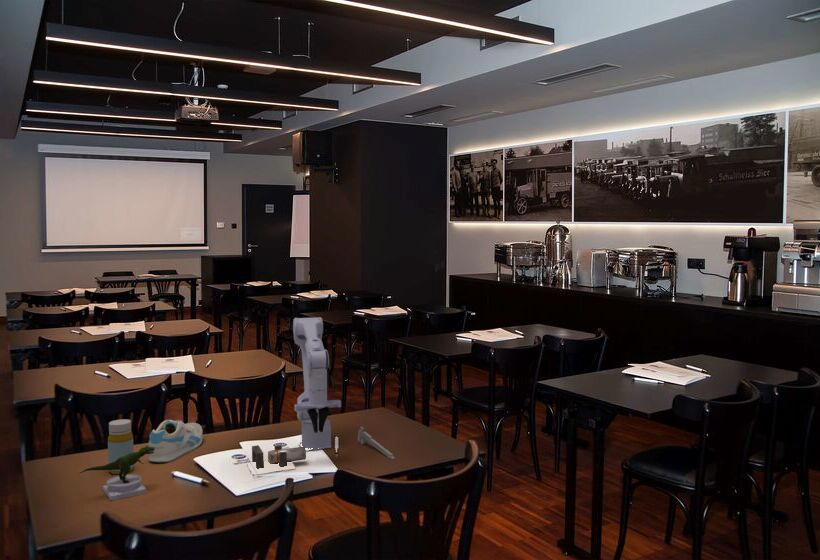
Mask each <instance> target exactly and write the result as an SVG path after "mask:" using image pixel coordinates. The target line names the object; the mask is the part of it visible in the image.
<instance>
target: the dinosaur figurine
mask: <svg viewBox="0 0 820 560" xmlns="http://www.w3.org/2000/svg"><path fill="white" fill-rule="evenodd" d="M154 450H155V449H154V447H149V445H145V446H143V447H140V449H138V451H135V452H133V453H129V454H127V455H126V456H123V457H120V458H118V459H117V460H116V461H114V462H112V463H109V462H108V463H107V464H105V465H98V466H93V467H88V468H86V469H85V468H84V470H81V471H80V472H79V474H82V473H85V472H87V471H89V472H90V471H109V470H120V473H119V474H118V475H116V476H113V477H111V478H109V479H107V481H106V485H103V486H102V489H103V492H104V493H105V495H106V496H107V498H108V497H109V498H108V500H113V501H116V499H117V500H120V499H121V498H122V499H126V498H131V497H134V496H139V495H144V494H147V488H146V487H145V486H144V485H143V483H142V479H143V478H142V476H141V475H138V474H134V473H133V474H129V473H130V472H129V471H130V466H131V465H134V466H135V465H136V463H137V462H139V463H140V464H145V463H143V462H142V461H141V460H140V459H141V458H142V457H144V456H145V455H150V454H152V453H154ZM123 472H124V473H123ZM122 473H123V474H122ZM122 499H121V500H122Z"/></svg>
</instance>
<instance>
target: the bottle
mask: <svg viewBox="0 0 820 560" xmlns="http://www.w3.org/2000/svg"><path fill="white" fill-rule="evenodd" d="M108 433H109V434H108V437H107V457H108V458H107V459H108V464H109V463H112V462H114V461H116V460H117V459H118V458H120V457H123V456H126V455H127V454H129V453H133V452H134V449H135V447H134V435H133V432H132V420H131V419H126V418H125V419H124V418H123V419H121V418H120V419H116V420H115V419H114V420H112V421H109V422H108ZM134 468H135V464H134V465H131V466H130V471H129V473H131V472H132V471H133V470H134ZM108 471H109V473H111V474H112V475H119V473H120V470H108ZM123 473H124V472H123ZM123 473H122V475H123Z"/></svg>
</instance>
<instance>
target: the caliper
mask: <svg viewBox="0 0 820 560" xmlns="http://www.w3.org/2000/svg"><path fill="white" fill-rule="evenodd" d="M365 430H366V429H365V427H363V426H360V427H359V429H358V432H357V444H360V445H361V446H362V445H365V443H367V445H372V446H373V447H374V448H375V449H377V450H378V451H379V452H380V453H382V454H383V455H384V456H386V457H387V458H389V459H391V460H395V459H396V458H395V456H394V454H393V453H392V452H390V451H389V450H388V449H386V448H385V447H384V446H383V445H381V444H380V443H379V442H377V441H376V440H375V439H374V438H373V436H372V435H370V434H369V433H368V432H367V431H365Z"/></svg>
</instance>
